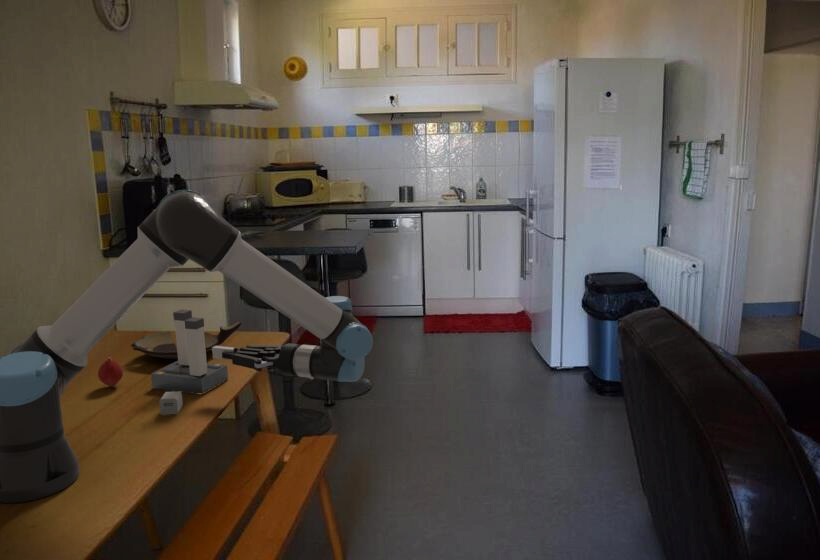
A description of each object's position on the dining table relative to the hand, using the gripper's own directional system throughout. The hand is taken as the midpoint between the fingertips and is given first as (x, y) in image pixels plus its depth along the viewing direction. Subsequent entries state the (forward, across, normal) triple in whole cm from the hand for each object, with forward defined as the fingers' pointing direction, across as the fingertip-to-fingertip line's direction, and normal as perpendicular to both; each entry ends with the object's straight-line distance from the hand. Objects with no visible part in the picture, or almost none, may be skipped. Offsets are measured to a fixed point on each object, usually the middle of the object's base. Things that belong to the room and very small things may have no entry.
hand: (214, 351), depth 165 cm
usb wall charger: (+4, -12, -11) cm, 17 cm away
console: (+10, +3, -10) cm, 15 cm away
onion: (+28, -5, -11) cm, 31 cm away
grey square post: (+5, 0, -6) cm, 8 cm away
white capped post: (+13, +6, -6) cm, 15 cm away
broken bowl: (+26, +23, -11) cm, 36 cm away
